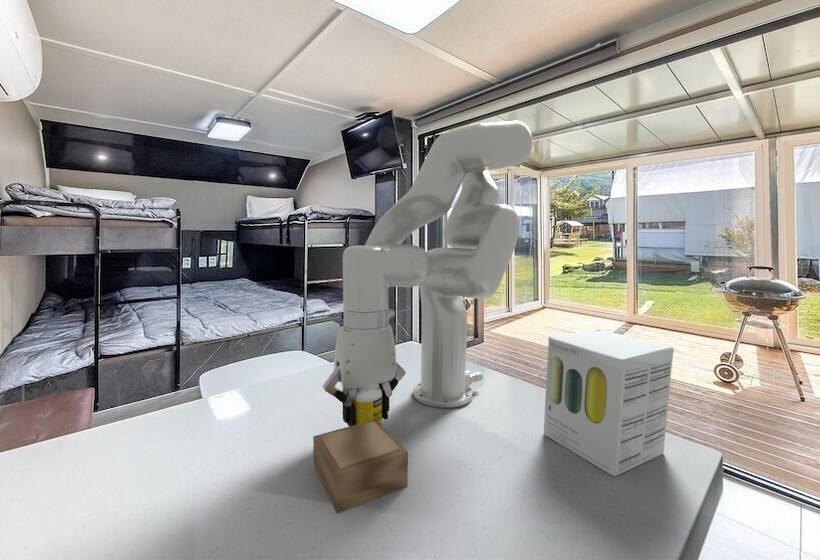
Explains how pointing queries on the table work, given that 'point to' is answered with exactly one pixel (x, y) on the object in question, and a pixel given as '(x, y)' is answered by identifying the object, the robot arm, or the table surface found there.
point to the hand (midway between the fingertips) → (366, 419)
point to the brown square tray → (359, 464)
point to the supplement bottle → (368, 404)
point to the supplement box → (608, 397)
